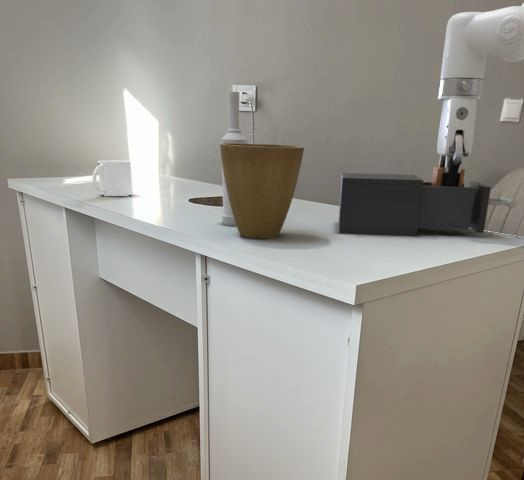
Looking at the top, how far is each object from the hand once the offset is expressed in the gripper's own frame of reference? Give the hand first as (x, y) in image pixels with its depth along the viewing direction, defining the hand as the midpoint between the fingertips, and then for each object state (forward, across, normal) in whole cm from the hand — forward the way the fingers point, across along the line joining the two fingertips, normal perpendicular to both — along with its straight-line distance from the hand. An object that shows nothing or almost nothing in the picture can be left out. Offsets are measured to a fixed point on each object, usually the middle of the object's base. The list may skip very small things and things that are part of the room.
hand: (445, 192), depth 109 cm
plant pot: (+8, -12, +35) cm, 38 cm away
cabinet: (+8, 0, +13) cm, 15 cm away
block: (0, 0, 0) cm, 0 cm away
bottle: (+8, 0, +42) cm, 43 cm away
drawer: (+7, 0, -3) cm, 7 cm away
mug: (+8, +43, +85) cm, 96 cm away
